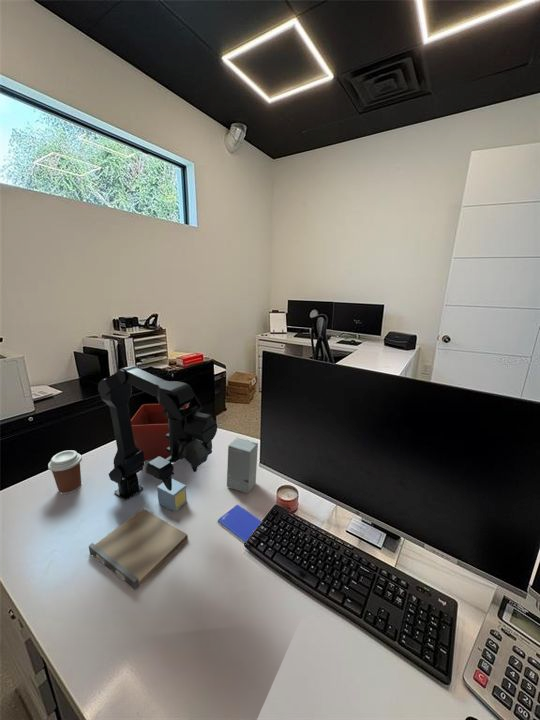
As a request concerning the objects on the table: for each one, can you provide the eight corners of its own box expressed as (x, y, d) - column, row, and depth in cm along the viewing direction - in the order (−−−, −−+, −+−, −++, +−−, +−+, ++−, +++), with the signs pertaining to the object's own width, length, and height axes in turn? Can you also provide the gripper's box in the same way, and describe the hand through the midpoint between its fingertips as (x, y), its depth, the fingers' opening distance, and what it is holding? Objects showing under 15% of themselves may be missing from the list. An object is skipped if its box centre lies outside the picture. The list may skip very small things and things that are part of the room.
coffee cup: (66, 500, 93) (59, 467, 90) (47, 492, 96) (39, 460, 93) (92, 482, 101) (87, 451, 98) (74, 475, 104) (68, 445, 101)
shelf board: (89, 554, 75) (87, 546, 74) (143, 512, 89) (143, 505, 88) (134, 591, 66) (133, 583, 66) (187, 538, 80) (187, 531, 79)
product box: (158, 503, 93) (157, 486, 91) (171, 493, 97) (169, 477, 95) (174, 512, 89) (173, 495, 88) (187, 501, 93) (186, 485, 92)
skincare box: (226, 487, 100) (225, 446, 95) (236, 475, 106) (235, 435, 102) (249, 494, 97) (249, 452, 92) (258, 481, 103) (258, 441, 99)
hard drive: (217, 519, 85) (248, 543, 78) (237, 503, 91) (268, 524, 84) (217, 524, 86) (248, 548, 78) (237, 508, 92) (268, 529, 84)
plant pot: (146, 439, 128) (142, 403, 124) (191, 437, 130) (189, 402, 126) (131, 466, 110) (126, 425, 105) (184, 464, 112) (181, 423, 107)
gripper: (174, 458, 67) (177, 514, 71) (226, 424, 82) (226, 472, 87) (141, 443, 72) (146, 496, 77) (196, 414, 88) (198, 459, 92)
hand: (182, 480), depth 83 cm, fingers open, 9 cm apart
